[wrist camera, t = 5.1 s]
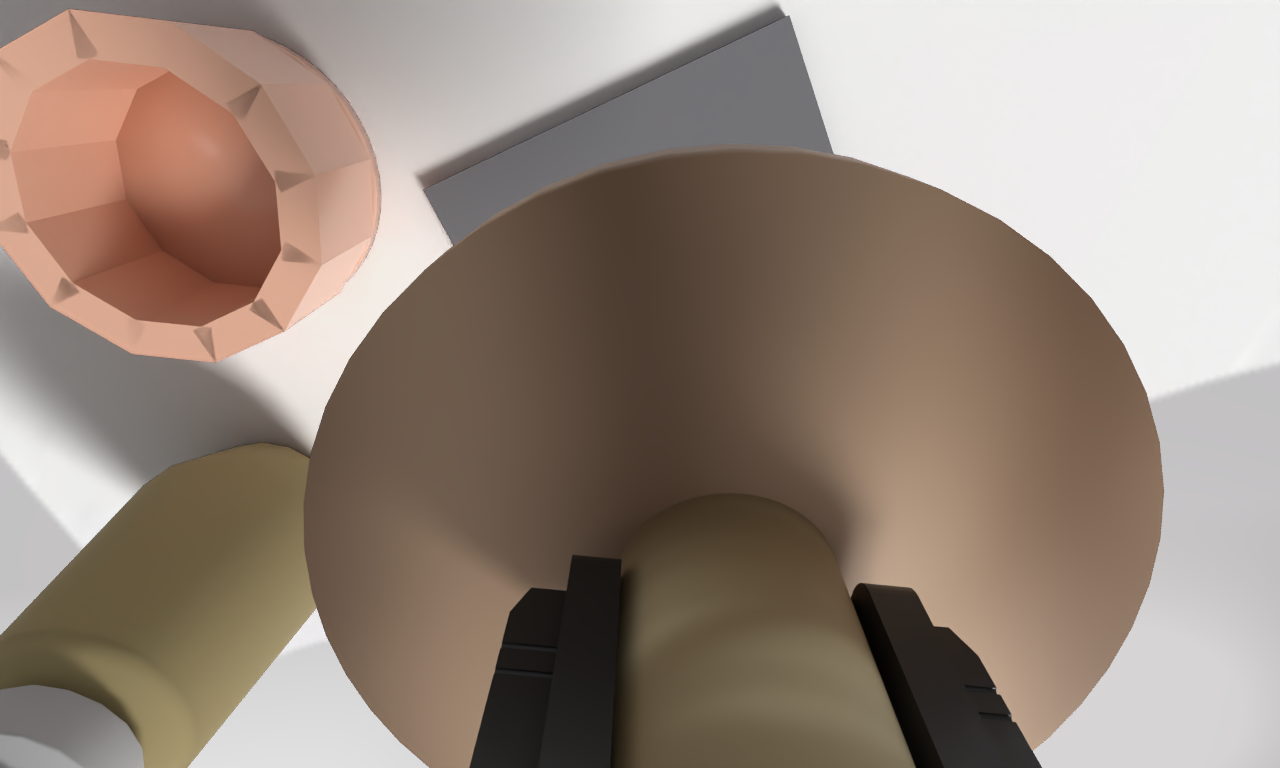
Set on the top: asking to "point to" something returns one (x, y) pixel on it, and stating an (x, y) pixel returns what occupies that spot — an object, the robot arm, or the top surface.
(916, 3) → the top surface
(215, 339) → the bowl
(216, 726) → the squeeze bottle
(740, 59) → the mat
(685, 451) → the lid
